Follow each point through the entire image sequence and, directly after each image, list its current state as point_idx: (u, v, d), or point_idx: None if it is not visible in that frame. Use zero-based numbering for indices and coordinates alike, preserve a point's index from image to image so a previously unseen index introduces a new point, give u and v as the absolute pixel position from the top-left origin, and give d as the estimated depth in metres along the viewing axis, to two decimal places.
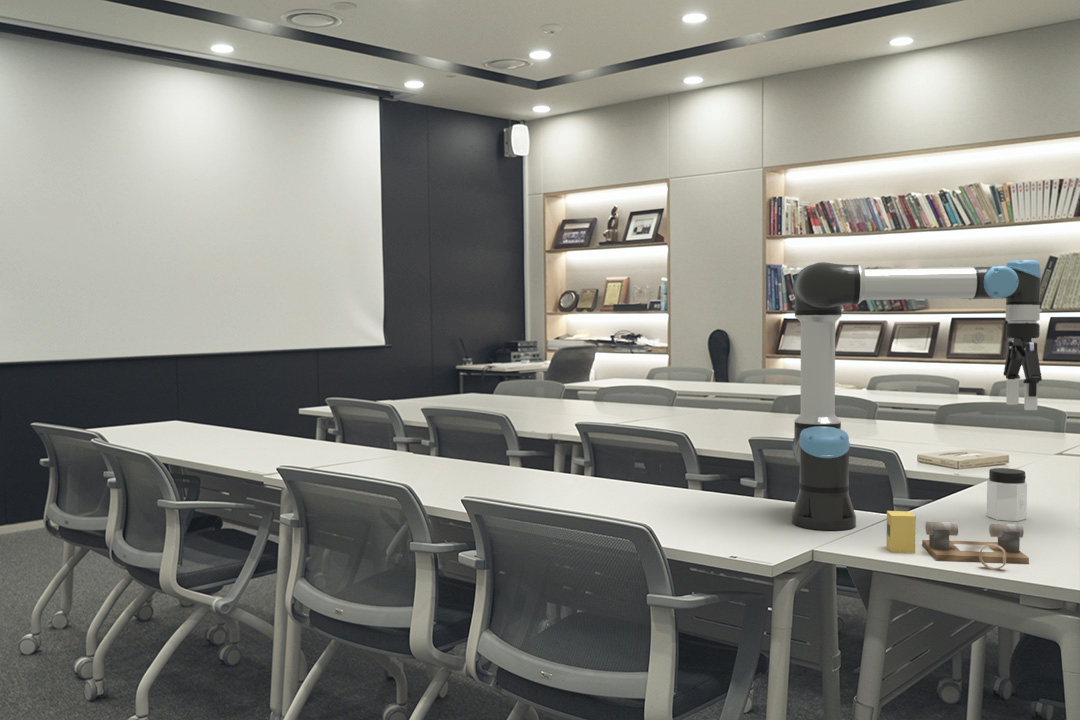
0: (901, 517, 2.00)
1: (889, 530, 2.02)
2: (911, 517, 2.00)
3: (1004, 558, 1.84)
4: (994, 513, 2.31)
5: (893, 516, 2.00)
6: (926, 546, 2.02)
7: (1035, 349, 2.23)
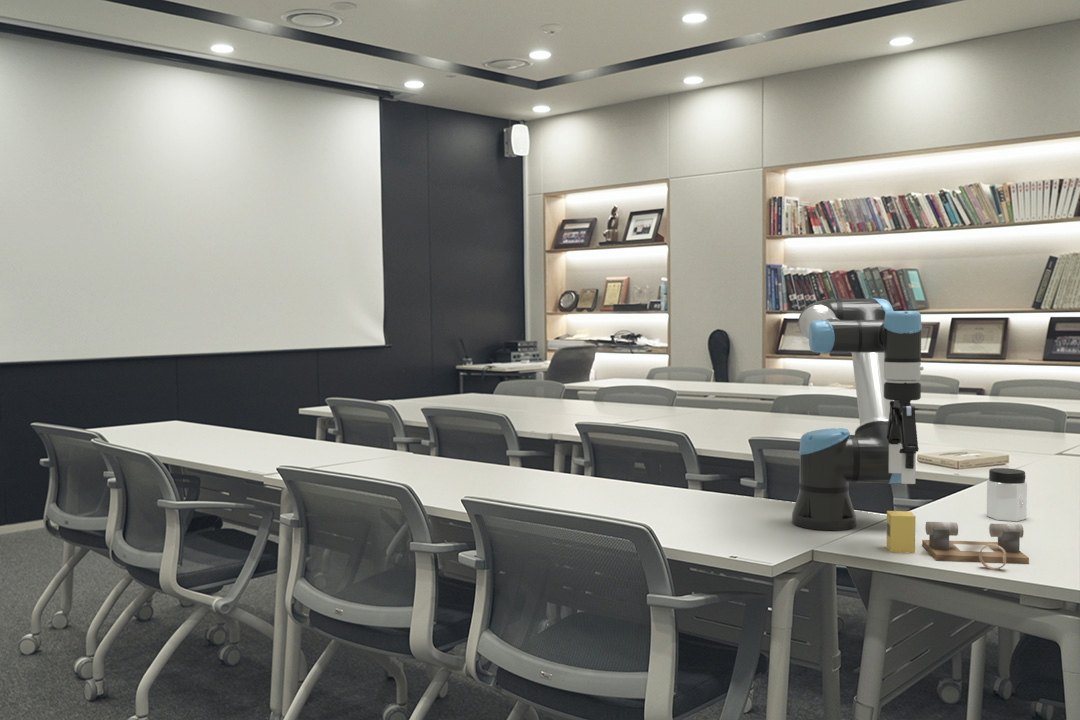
0: (901, 517, 2.00)
1: (889, 530, 2.02)
2: (911, 517, 2.00)
3: (1004, 558, 1.84)
4: (994, 513, 2.31)
5: (893, 516, 2.00)
6: (926, 546, 2.02)
7: (913, 414, 1.94)
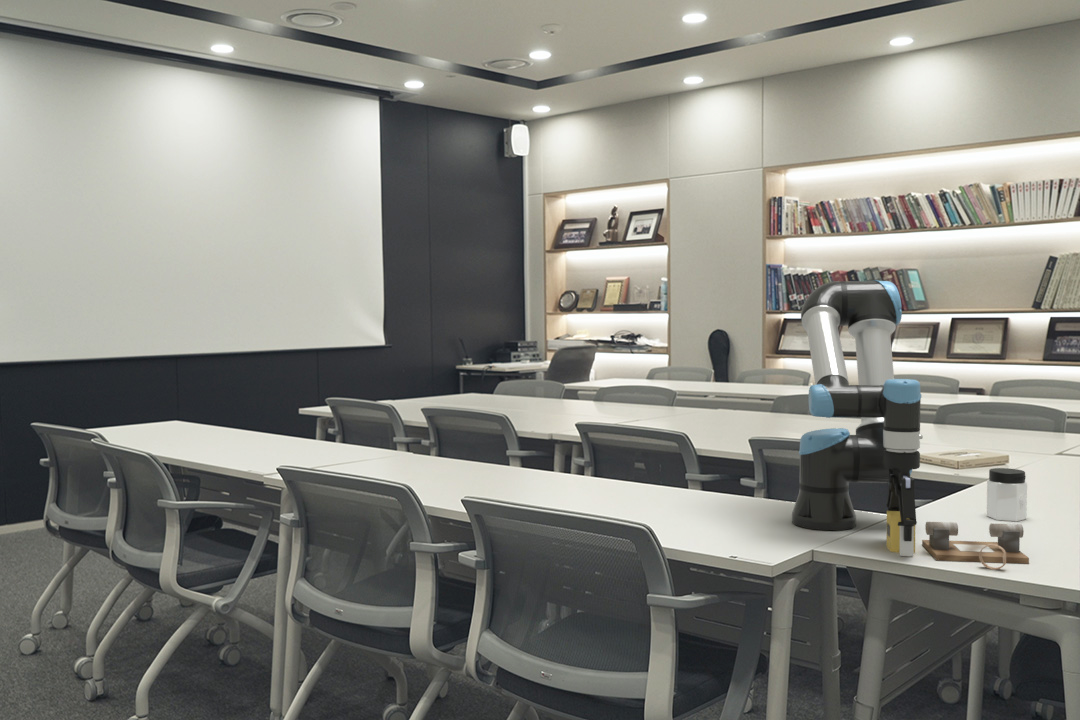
0: None
1: (889, 530, 2.02)
2: None
3: (1004, 558, 1.84)
4: (994, 513, 2.31)
5: (893, 516, 2.00)
6: (926, 546, 2.02)
7: (911, 486, 1.95)
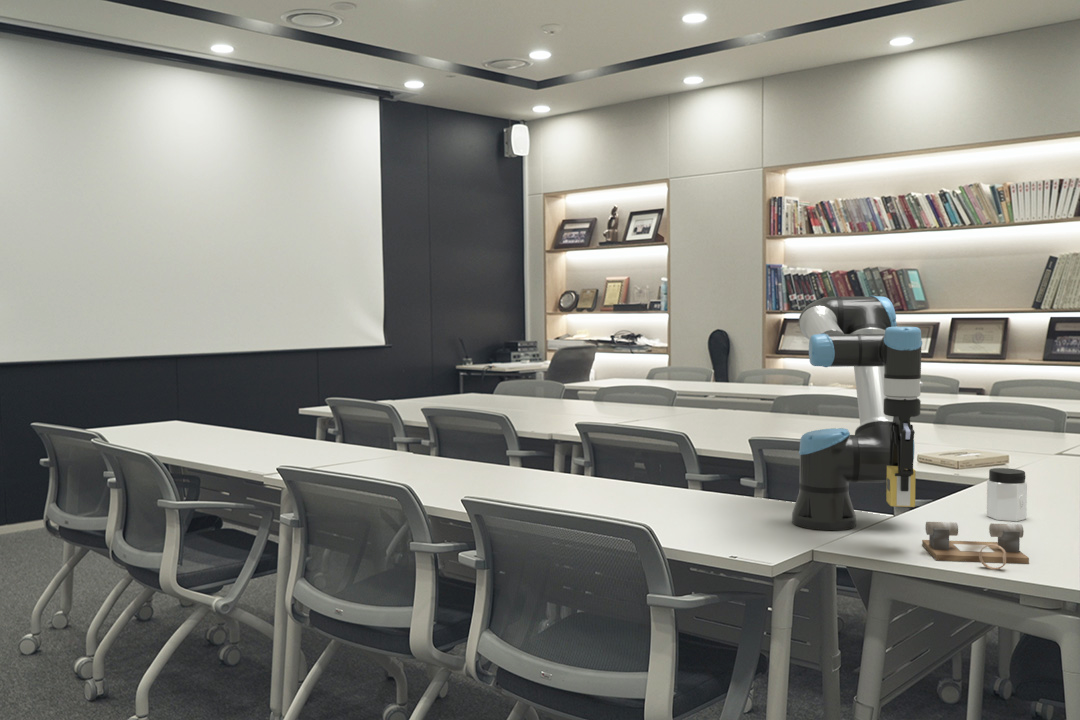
0: None
1: (889, 485, 2.02)
2: None
3: (1004, 558, 1.85)
4: (994, 513, 2.31)
5: (893, 470, 2.00)
6: (926, 546, 2.02)
7: (911, 438, 1.95)
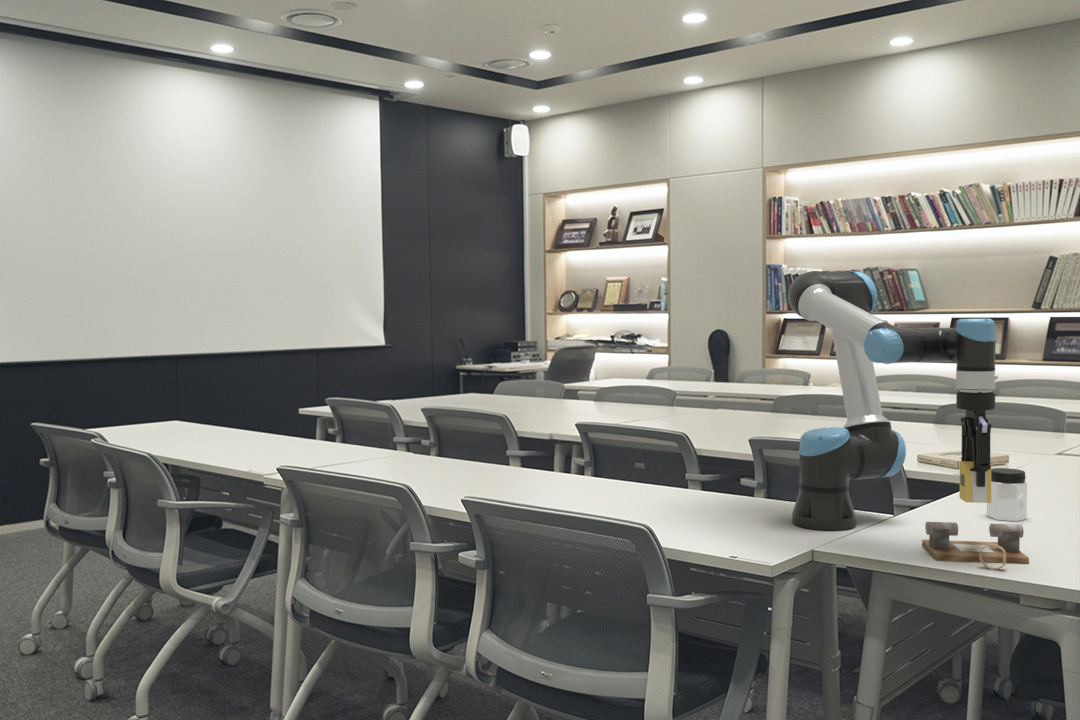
0: None
1: (963, 480, 1.96)
2: None
3: (1004, 558, 1.85)
4: (994, 513, 2.31)
5: (968, 465, 1.95)
6: (926, 546, 2.02)
7: (988, 432, 1.90)
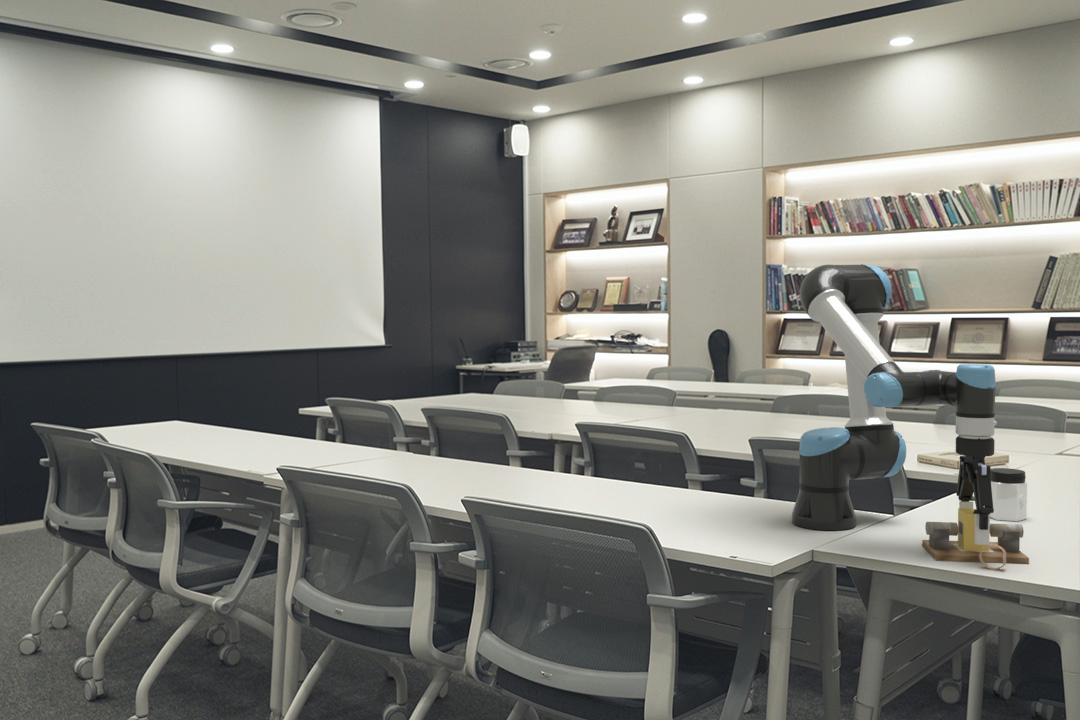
0: None
1: (962, 528, 1.97)
2: None
3: (1004, 558, 1.84)
4: (994, 513, 2.31)
5: (966, 514, 1.96)
6: (926, 546, 2.02)
7: (988, 473, 1.90)
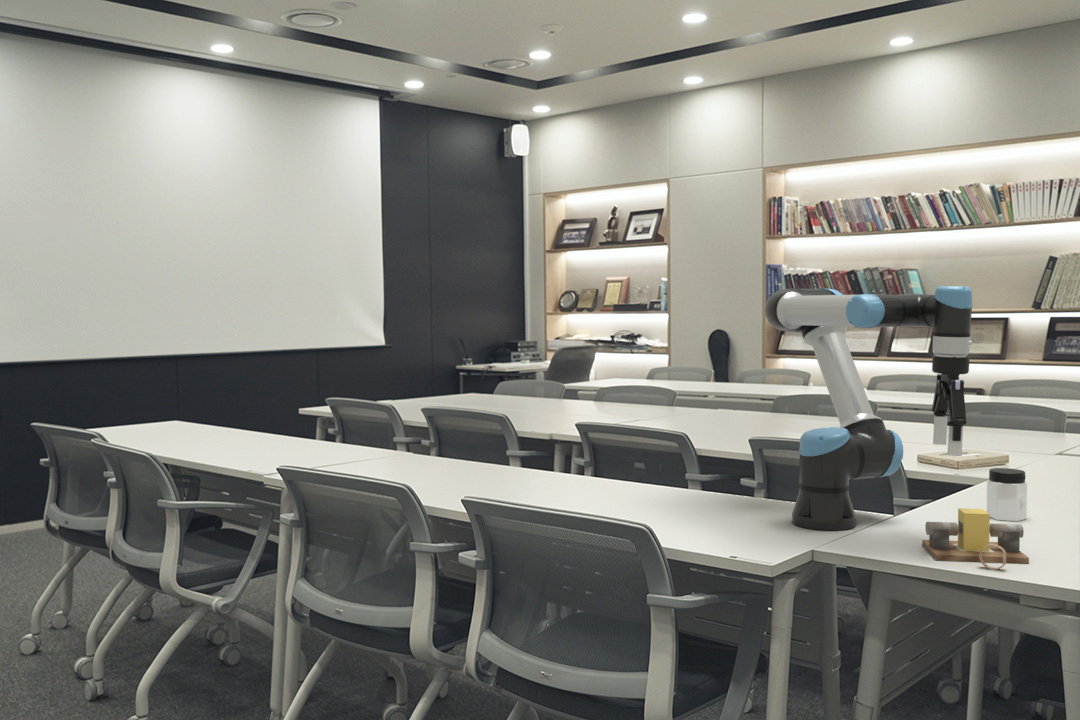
0: (975, 515, 1.95)
1: (962, 528, 1.97)
2: (985, 515, 1.95)
3: (1004, 558, 1.85)
4: (994, 513, 2.31)
5: (966, 514, 1.96)
6: (926, 546, 2.02)
7: (961, 388, 1.98)
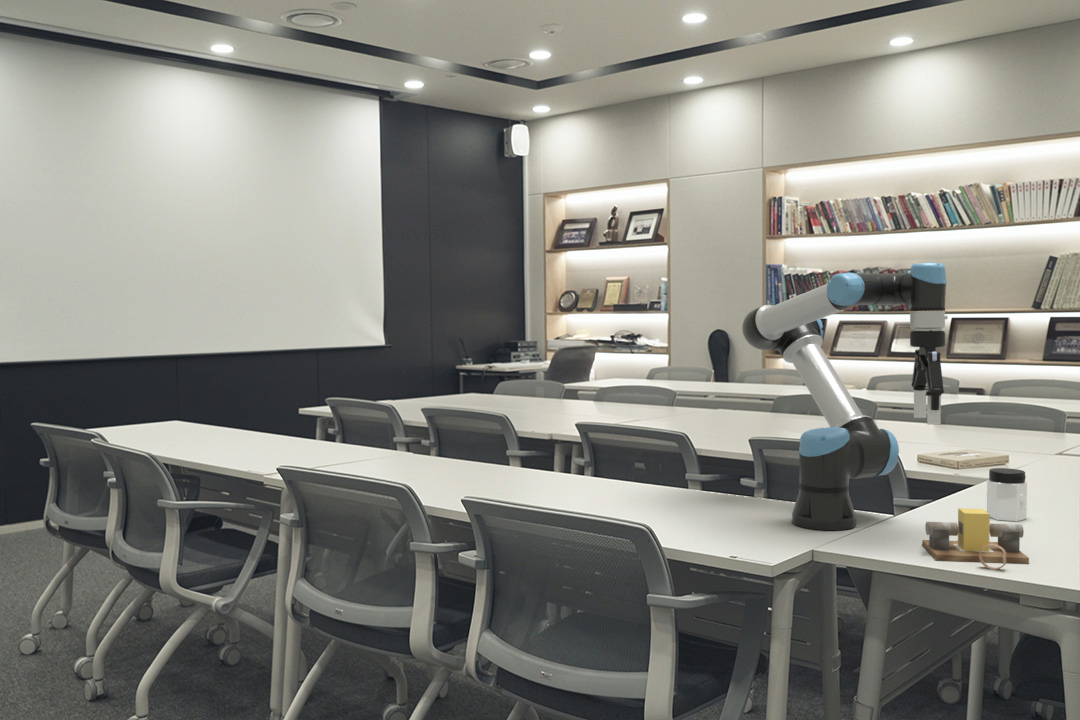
0: (975, 515, 1.95)
1: (962, 528, 1.97)
2: (985, 515, 1.95)
3: (1004, 558, 1.85)
4: (994, 513, 2.31)
5: (966, 514, 1.96)
6: (926, 546, 2.02)
7: (938, 359, 2.07)
